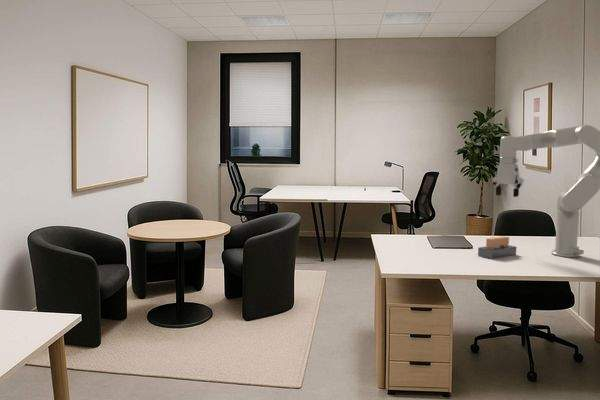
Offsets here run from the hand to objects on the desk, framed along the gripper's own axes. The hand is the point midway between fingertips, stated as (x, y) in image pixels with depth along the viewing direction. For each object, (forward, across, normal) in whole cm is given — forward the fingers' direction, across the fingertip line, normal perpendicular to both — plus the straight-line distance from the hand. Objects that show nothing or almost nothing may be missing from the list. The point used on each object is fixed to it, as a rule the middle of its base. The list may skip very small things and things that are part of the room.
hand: (507, 195), depth 280 cm
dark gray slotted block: (+28, -4, +14) cm, 31 cm away
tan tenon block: (+28, -4, +14) cm, 31 cm away
